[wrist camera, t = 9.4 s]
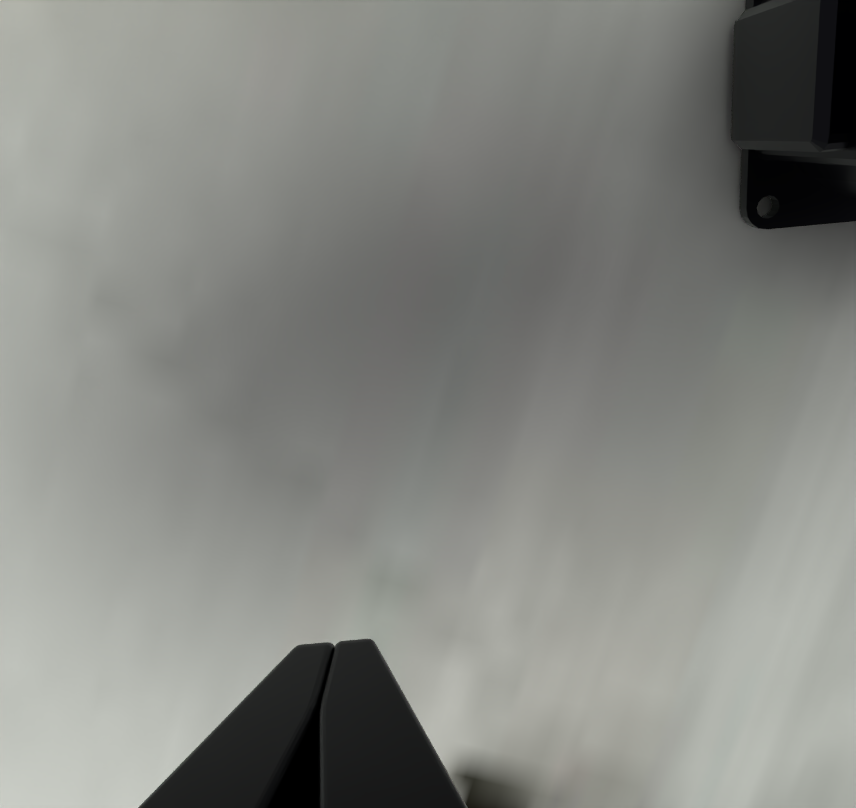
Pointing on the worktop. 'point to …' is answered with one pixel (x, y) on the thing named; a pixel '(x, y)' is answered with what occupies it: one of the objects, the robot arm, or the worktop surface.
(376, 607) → the worktop surface
